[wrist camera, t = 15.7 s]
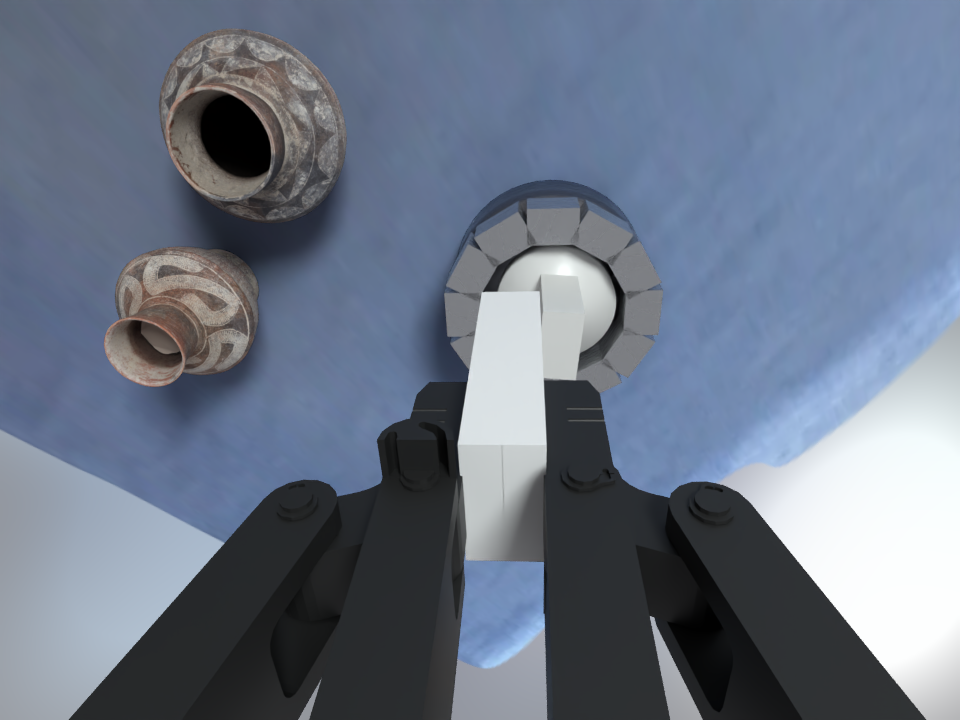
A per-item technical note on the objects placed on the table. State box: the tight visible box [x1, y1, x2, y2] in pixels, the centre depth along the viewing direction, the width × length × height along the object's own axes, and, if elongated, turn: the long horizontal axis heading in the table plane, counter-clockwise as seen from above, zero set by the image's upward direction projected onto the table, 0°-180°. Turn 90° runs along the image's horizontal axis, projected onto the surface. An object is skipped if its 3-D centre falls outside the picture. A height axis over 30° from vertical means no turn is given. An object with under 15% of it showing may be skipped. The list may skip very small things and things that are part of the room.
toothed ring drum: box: [444, 180, 663, 393], centre depth 45 cm, size 14×14×8 cm
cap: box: [498, 245, 616, 380], centre depth 40 cm, size 8×8×8 cm
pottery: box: [104, 29, 347, 387], centre depth 42 cm, size 11×25×12 cm, turn 151°
